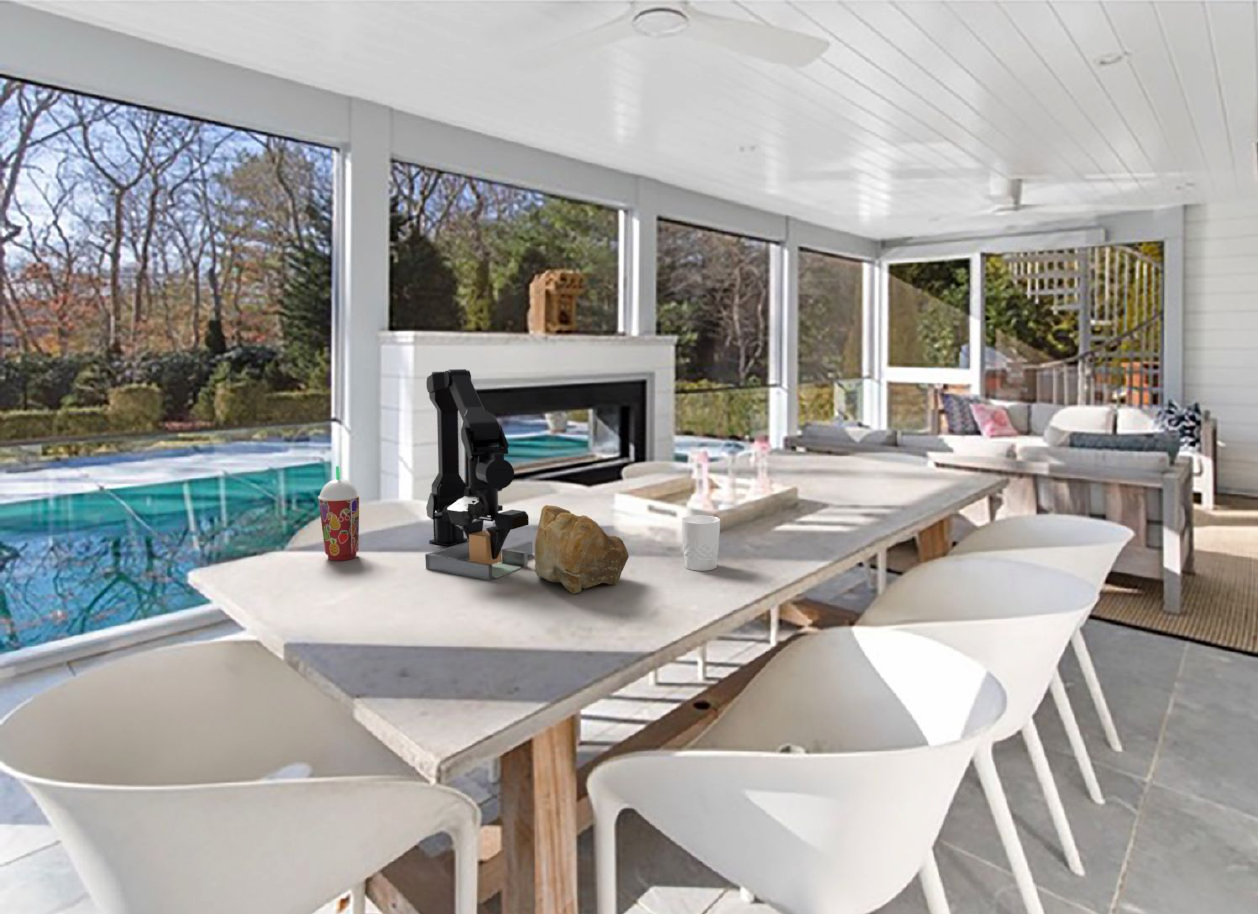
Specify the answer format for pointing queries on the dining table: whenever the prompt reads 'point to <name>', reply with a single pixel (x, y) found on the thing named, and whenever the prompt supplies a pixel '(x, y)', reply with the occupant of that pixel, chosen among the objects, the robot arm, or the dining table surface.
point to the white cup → (700, 542)
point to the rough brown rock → (576, 551)
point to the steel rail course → (454, 564)
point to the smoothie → (340, 518)
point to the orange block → (481, 548)
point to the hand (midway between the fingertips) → (485, 557)
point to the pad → (502, 569)
